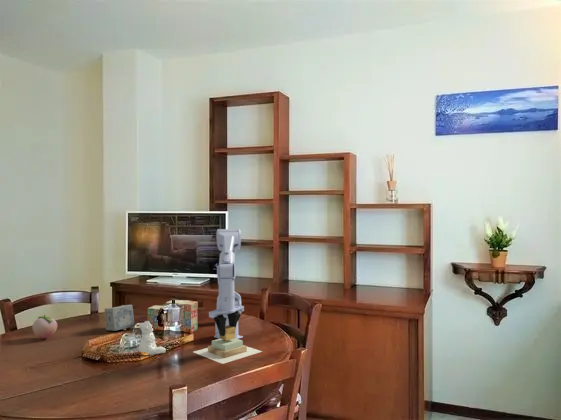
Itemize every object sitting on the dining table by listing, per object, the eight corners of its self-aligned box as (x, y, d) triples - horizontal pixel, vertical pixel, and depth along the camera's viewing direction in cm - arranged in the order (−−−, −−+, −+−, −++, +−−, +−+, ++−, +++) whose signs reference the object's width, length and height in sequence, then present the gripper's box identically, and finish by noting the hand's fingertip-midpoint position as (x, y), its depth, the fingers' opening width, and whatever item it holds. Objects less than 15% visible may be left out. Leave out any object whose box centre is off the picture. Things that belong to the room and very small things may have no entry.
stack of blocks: (147, 329, 203) (146, 301, 203) (155, 325, 209) (154, 298, 208) (191, 333, 196) (190, 304, 196) (198, 329, 202) (197, 300, 202)
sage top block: (211, 346, 169) (211, 340, 169) (229, 341, 175) (229, 336, 175) (225, 351, 164) (225, 345, 164) (242, 346, 169) (242, 340, 169)
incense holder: (124, 325, 209) (124, 302, 209) (135, 328, 204) (134, 305, 203) (104, 330, 201) (103, 306, 201) (114, 333, 196) (114, 309, 196)
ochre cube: (219, 338, 169) (219, 327, 169) (228, 336, 172) (228, 325, 172) (226, 340, 166) (226, 329, 166) (235, 338, 169) (235, 327, 169)
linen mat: (192, 353, 170) (192, 351, 170) (231, 342, 182) (231, 341, 182) (222, 364, 157) (222, 363, 157) (262, 352, 169) (262, 351, 169)
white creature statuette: (167, 353, 170) (166, 320, 169) (146, 359, 163) (145, 325, 163) (153, 348, 176) (152, 316, 176) (132, 353, 170) (131, 320, 170)
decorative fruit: (27, 341, 187) (26, 316, 186) (44, 335, 194) (44, 311, 194) (44, 343, 183) (44, 318, 183) (61, 337, 191) (61, 313, 190)
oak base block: (207, 351, 169) (207, 346, 169) (229, 345, 176) (229, 340, 176) (224, 358, 162) (224, 352, 162) (246, 351, 169) (246, 346, 169)
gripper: (217, 301, 161) (217, 340, 161) (249, 295, 171) (249, 332, 172) (205, 298, 166) (205, 336, 166) (236, 292, 176) (237, 328, 177)
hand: (227, 334), depth 169 cm, fingers closed on ochre cube, 4 cm apart
